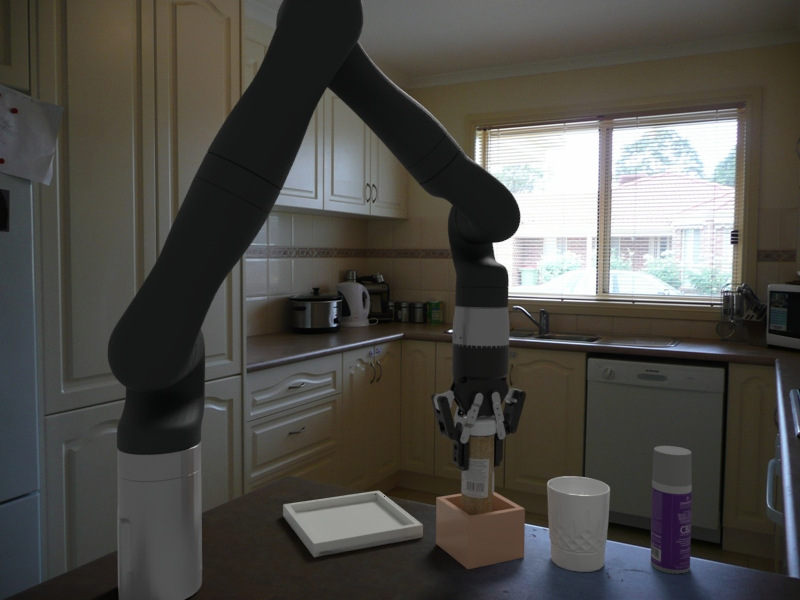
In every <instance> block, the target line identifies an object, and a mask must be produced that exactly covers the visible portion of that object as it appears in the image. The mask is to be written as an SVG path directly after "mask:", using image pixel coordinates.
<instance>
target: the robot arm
mask: <svg viewBox="0 0 800 600" xmlns="http://www.w3.org/2000/svg"><path fill="white" fill-rule="evenodd" d="M364 21H365V10H364V3H363V1H362V0H282V1H281V4H280V6H279V8H278V10H277V15H276V21H275V22H276V23H275V30H274V33H273V35H272V38H271V41H270V42H269V45H268V48H267V51H266V52H265V53H266V54H265V55H264V57H263V60H262V61H261V63H260V66H259V67H258V70H257V72H256V73H255V74H254V77H253V79H252V80H251V82H250V83H249V85H248V86H247V88H245V91H244V92H243V93H242V95H241V96H240V98H239V99H238V101H237V102H236V104H235V105H234V106H233V108H232V110H231V111H230V112H229V114H228V116H227V117H226V118H225V120H224V122H223V123H222V125H221V126H220V128H219V130H218V132H217V133H216V135H215V137H213V138H214V139H213V140H212V142H211V143H210V145H209V146H208V149H207V150H206V153H205V155H204V157H203V159H202V161H201V163H200V165H199V167H198V169H197V172H196V173H195V174H194V177H193V179H192V181H191V184H190V185H189V188H188V190H187V193H186V194H185V196H184V199H183V201H182V203H181V205H180V207H179V210H178V211H177V213H176V216H175V218H174V220H173V223H172V225H171V227H170V230H169V232H168V234H167V237H166V240H165V242H164V244H163V247H162V249H161V250H160V253H159V255H158V257H157V259H156V261H155V263H154V265H153V267H152V269H151V270H150V272H149V273H148V276H146V278H145V280H144V281H143V283H142V285H141V286H140V288H139V289H138V291H137V292H136V294H135V296H134V297H133V298H132V300H131V301H130V303H129V304H128V306H127V308H126V309H125V311H124V312H123V314H122V315H121V317H120V318H119V319H118V322H117V323H116V324H115V327H113V329H112V331H111V333H110V336H109V340H108V343H107V361H108V365H109V368H110V370H111V374H112V375H113V376H114V378H115V379H116V381H118V382H119V383H120V384H121V385H122V386H124V387H125V400H124V406H123V410H122V413H121V416H120V419H119V421H118V425H117V427H116V428H117V429H116V449H117V451H116V452H117V453H116V457H117V458H116V460H117V461H116V465H117V467H116V468H117V471H116V472H117V511H116V513H117V514H116V515H117V516H116V518H117V520H116V522H117V524H116V525H117V527H116V529H117V532H116V533H117V589H118V591H117V592H118V600H186V599H188V598H189V597H192V596H193V595H194V594H196V593H198V591H199V590H200V589H201V587H202V584H203V549H202V548H203V547H202V545H203V538H202V537H203V536H202V535H203V533H202V532H203V530H202V529H203V527H202V526H203V525H202V524H203V523H202V516H203V515H202V513H203V512H202V511H203V509H202V504H203V503H202V423H203V419H204V414H205V413H204V412H205V405H206V403H205V402H206V399H205V398H206V395H205V394H206V392H205V391H206V344H205V336H204V334H203V330H202V326H203V324H204V322H205V319H206V317H207V314H208V312H209V310H210V308H211V305H212V302H213V300H214V299H215V296H216V295H217V292H218V291H219V289H220V288H221V285H222V284H223V283H224V281H225V279H226V278H227V277H228V276H229V274H230V273H231V272H232V270H233V269H234V268H235V266H236V265H237V263H238V262H239V261H240V260H241V258H242V257H243V256H244V255H245V253H246V252H247V250H248V249H249V247H250V246H251V245H252V243H253V242H254V240H255V239H256V238H257V236H258V234H259V232H260V231H261V230H262V229H263V227H264V225H265V223H266V222H267V219H268V218H269V216H270V214H271V212H272V210H273V208H274V205H275V204H276V202H277V200H278V198H279V195H280V193H281V191H282V190H283V187H284V185H285V183H286V180H287V178H288V176H289V174H290V172H291V170H292V167H293V165H294V163H295V162H296V161H295V160H296V158H297V156H298V153H299V151H300V148H301V146H302V144H303V141H304V138H305V136H306V133H307V130H308V128H309V125H310V123H311V120H312V118H313V115H314V113H315V110H316V108H317V106H318V104H319V102H320V101H321V99H322V97H323V95H324V93H325V92H326V90H327V89H328V90H330V91H331V92H332V93H333V94H334V95H335V96H336V97H338V99H340V100H341V102H343V103H344V104H345V105H346V106H347V107H348V108H350V110H351V111H352V112H354V114H356V115H357V117H358V118H359V119H360V120H361V121H363V123H364V124H365V125H366V126H367V127H368V128H369V129H370V130H371V131H372V132H373V133H374V134H375V136H376V137H377V138H378V139H379V140H380V141H381V142H382V143H383V144H384V146H385V147H386V148H387V149H388V150H389V151H390V153H392V155H393V156H394V157H395V158H396V159H397V161H399V163H400V164H401V165H402V167H404V169H405V170H406V171H407V172H408V174H410V175H411V177H413V179H414V180H415V181H416V182H417V183H418V185H419V186H420V187H421V188H422V189H423V190H424V191H425V192H426V193H427V194H429V195H430V196H432V197H435V198H439V199H443V200H445V201H447V202H448V203H450V204H451V205H452V206H451V208H450V211H449V214H448V220H447V235H448V237H447V238H448V241H449V247H450V251H451V252H450V253H451V258H452V263H453V267H454V271H455V275H456V276H455V277H456V278H455V279H456V280H455V295H454V296H455V297H454V298H455V300H454V301H455V302H454V303H455V307H454V315H453V321H452V335H451V336H452V348H451V349H452V353H451V356H452V357H451V373H452V382H451V385H450V387H449V390H448V391H445V392H443V393H440V394H439V393H437V392H436V393H435V392H434V393H432V395H431V396H430V397H431V398H430V400H431V404H432V407H433V412H434V415H435V419H436V422H437V427H438V430H439V431H438V432H439V434H440V435H441V436H443V437H445V438H447V439H449V440H450V441H451V440H452V462H453V465H455V467H456V468H457V469H458V470H460V471H461V472H462V471H466V470H468V468H469V443H467V441H468V439H469V435H470V431H471V428H472V427H473V426H474V425H475V421H476V418H478V417H481V416H487V417H489V418H492V419H494V420H495V421H496V433H495V436H494V468H497V467H500V466H501V463H502V461H503V458H504V457H503V456H504V440H505V438H506V436H508V435H510V434H511V435H512V434H515V433H517V430H518V427H519V423H520V419H521V417H522V412H523V408H524V404H525V401H526V398H527V393H526V392H525V390H521V389H518V388H514V387H512V388H511V387H509V383H508V380H507V376H509V371H510V369H509V363H510V329H511V327H510V318H509V288H510V287H509V286H510V285H509V282H510V281H509V272H508V269H507V267H506V266H505V265H503V264H502V263H500V262H498V261H497V259H496V257H495V249H494V243H495V244H498V243H503V242H505V241H507V240H510V239H511V238H513V236H514V235H516V233H517V231H518V230H519V228H520V225H521V217H522V216H521V210H520V207H519V204H518V201H517V199H516V197H515V195H513V194H512V191H510V190H509V188H508V186H506V185H505V184H504V183H503V182H501V181H500V180H499V179H498V178H497V177H496V176H494V175H493V174H491V172H489V171H488V170H487V169H486V168H484V167H483V166H482V165H480V164H479V163H477V162H476V161H475V160H473V159H471V158H470V157H469V156H468V155H467V154H466V152H465V151H464V149H463V148H462V147H461V146H460V144H459V143H458V142H457V141H456V139H454V137H453V136H452V134H451V133H450V132H449V131H448V130H447V129H446V128H445V127H444V125H443V124H442V123H441V122H440V121H439V119H437V117H435V116H434V115H433V114H432V113H431V112H430V111H429V110H428V109H427V108H425V106H423V105H422V104H421V103H419V102H418V101H417V100H416V99H414V97H412V96H410V95H409V94H408V93H407V92H405V91H404V90H403V89H402V88H401V87H399V86H398V85H397V84H395V82H393V81H392V80H391V79H390V77H388V76H387V75H386V74H385V73H383V71H382V70H381V69H380V68H379V67H378V66H377V64H375V62H373V60H372V59H371V57H370V56H369V55H368V54H367V52H366V50H365V49H364V48H363V46H362V44H361V43H360V41H359V40H360V37H361V35H362V33H363V27H364ZM453 401H454V403H455V404H456V405H457V406H456V409H455V414H454V417H453V415H452V410H451V408H453ZM504 401H505V404H504V408H503V409H502V404H503V402H504ZM466 416H467V417H466ZM465 417H466V418H465Z"/></svg>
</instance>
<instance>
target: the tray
mask: <svg viewBox="0 0 800 600" xmlns="http://www.w3.org/2000/svg"><path fill="white" fill-rule="evenodd" d="M375 494H376V495H375ZM384 496H385V497H384ZM282 509H283V510H282V515H283V518H284V520H285V521H286V522H287V524H288V525H289V526H290V527H291V529H292V530H293V531H294V533H295V534H296V535H297V536H298V538H299V539H300V540H301V542H302V543H303V544H304V546H305V547H306V549H307V550H308V551H309V553H310V554H311V555H312V556H313V558H317V557H322V556H328V555H329V556H330V555H334V554H339V553H340V554H341V553H346V552H351V551H356V550H361V549H367V548H373V547H377V546H384V545H387V544H389V545H390V544H394V543H400V542H404V541H405V542H406V541H411V540H417V539H420V538H424V532H423V531H424V525H423V523H421V521H419V520H418V519H416V518H415V517H413V515H411V514H410V513H408V512H407V511H406V510H405V509H404V508H402V507H401V506H400V505H398V503H396V502H394V501H393V500H392V499H390V498H389V497H388V496H386V495H385V494H384V493H383V492H381V491H380V490H374V491H373V490H372V491H366V492H361V493H353V494H346V495H345V494H344V495H340V496H332V497H326V498H319V499H312V500H305V501H299V502H292V503H291V502H290V503H284V504H283V506H282Z"/></svg>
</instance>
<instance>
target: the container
mask: <svg viewBox="0 0 800 600" xmlns="http://www.w3.org/2000/svg"><path fill="white" fill-rule="evenodd" d="M652 459H653V460H652V461H653V463H652V479H651V480H652V481H651V482H652V483H651V522H650V523H651V525H650V526H651V527H650V529H651V530H650V565H651V566H652V567H653V568H654V569H657V570H658V571H660V572H663V573H667V574H671V573H672V575H679V574H678V573H684V574H686V573H685V572H687V571H689V572H690V570H691V548H692V547H691V539H692V537H691V536H692V501H693V499H692V498H693V495H692V493H693V492H692V491H693V490H692V489H693V485H692V482H693V478H692V475H693V474H692V473H693V470H692V468H693V467H692V460H693V459H692V450H690V449H687V448H685V447H680V446H675V445H674V446H672V445H657V446H655V447H654V448H653V458H652ZM674 573H676V574H674ZM687 573H688V572H687Z"/></svg>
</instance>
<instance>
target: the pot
mask: <svg viewBox="0 0 800 600" xmlns="http://www.w3.org/2000/svg"><path fill="white" fill-rule="evenodd" d="M435 505H436V507H435V508H436V511H435V513H436V514H435V516H436V517H435V520H436V521H435V528H436V529H435V531H436V532H435V544H436V545H437V546H438V547H440V549H442V550H443V551H444V552H445V553H447V554H448V555H449V556H451V557H452V558H453V559H454V560H456V561H457V562H458V563H459V564H461V565H462V566H463V567H464V568H465V569H467V570H473V569H476V568H481V567H485V566H491V565H495V564H500V563H504V562H509V561H513V560H519V559H523V558H525V531H526V529H525V528H526V527H525V526H526V525H525V522H526V509H525V508H524V507H523V506H521V505H519V504H517V503H515V502H514V501H512V500H510V499H509V498H507V497H504V496H503V495H501V494H499V493H497V492H495V491H494V493H493V512H489V513H483V514H477V515H471V516H470V515H469V514H467V513H466V512H464V511H463V510H461V507H462V492H461V493H457V494H449V495H443V496H437V497H436V504H435Z"/></svg>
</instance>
